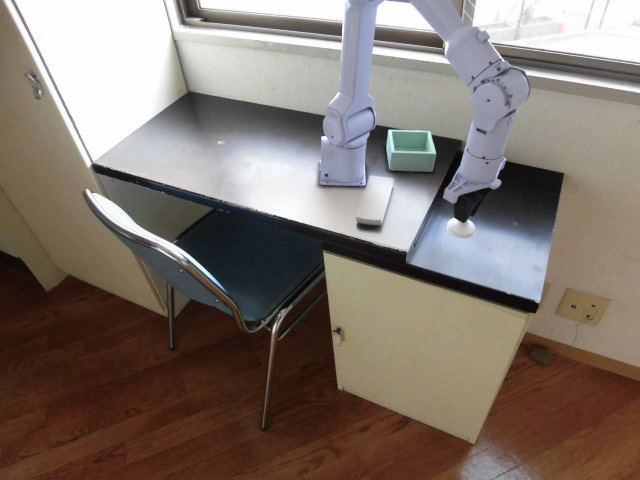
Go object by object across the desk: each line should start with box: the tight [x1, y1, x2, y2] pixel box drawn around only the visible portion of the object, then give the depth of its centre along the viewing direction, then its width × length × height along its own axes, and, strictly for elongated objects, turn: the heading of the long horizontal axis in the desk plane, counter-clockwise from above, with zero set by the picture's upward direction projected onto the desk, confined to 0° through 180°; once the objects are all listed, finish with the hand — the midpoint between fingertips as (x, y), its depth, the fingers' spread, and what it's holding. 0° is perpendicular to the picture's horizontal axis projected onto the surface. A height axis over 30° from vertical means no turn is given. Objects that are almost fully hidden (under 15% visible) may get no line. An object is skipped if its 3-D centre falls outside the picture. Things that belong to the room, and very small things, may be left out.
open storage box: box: [385, 129, 437, 173], centre depth 105 cm, size 9×9×5 cm
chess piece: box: [446, 191, 476, 239], centre depth 81 cm, size 5×5×10 cm
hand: (464, 216), depth 82 cm, fingers closed on chess piece
